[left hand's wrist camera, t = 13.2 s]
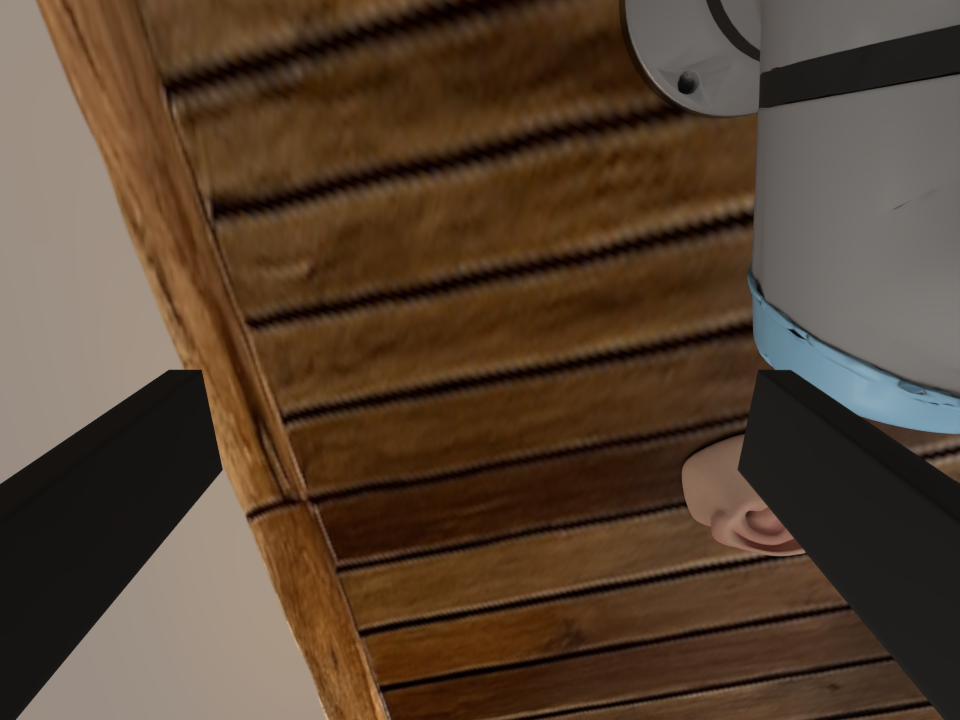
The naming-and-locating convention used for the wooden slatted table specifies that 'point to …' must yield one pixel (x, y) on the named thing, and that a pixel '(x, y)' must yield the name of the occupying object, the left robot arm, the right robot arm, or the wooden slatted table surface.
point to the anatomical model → (732, 502)
